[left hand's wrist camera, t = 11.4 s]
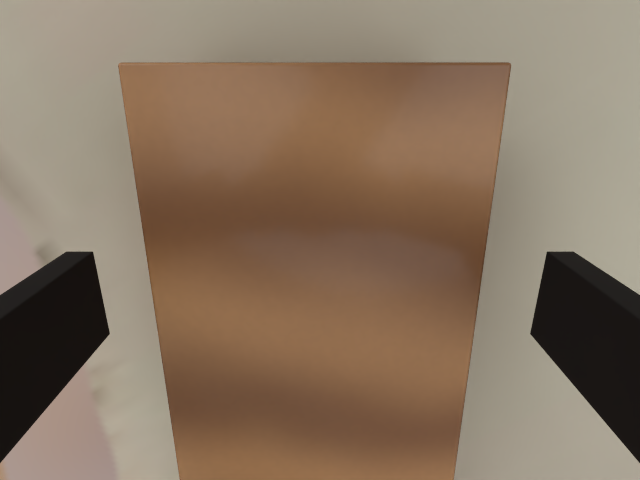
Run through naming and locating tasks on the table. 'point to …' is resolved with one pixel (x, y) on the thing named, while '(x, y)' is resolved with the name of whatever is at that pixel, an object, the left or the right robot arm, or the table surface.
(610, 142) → the table surface
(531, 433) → the table surface
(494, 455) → the table surface
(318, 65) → the wide beam
